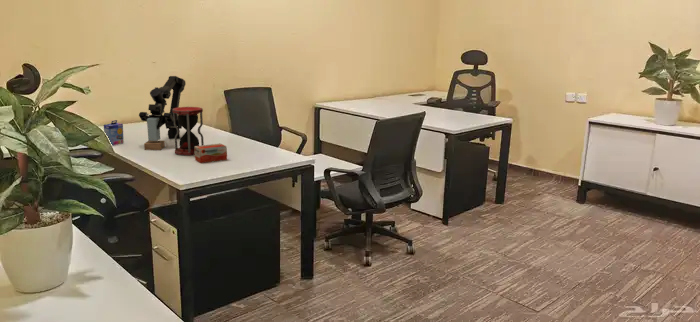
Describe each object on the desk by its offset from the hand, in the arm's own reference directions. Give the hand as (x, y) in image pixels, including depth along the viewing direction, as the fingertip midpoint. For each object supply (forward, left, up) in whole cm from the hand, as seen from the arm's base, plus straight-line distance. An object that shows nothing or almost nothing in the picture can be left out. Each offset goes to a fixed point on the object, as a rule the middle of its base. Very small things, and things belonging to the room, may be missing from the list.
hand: (152, 129), depth 314 cm
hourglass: (-20, +14, -12) cm, 27 cm away
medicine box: (-30, +34, -12) cm, 47 cm away
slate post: (-1, -1, -7) cm, 7 cm away
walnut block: (-1, -1, -12) cm, 12 cm away
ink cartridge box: (+22, -17, -12) cm, 31 cm away
